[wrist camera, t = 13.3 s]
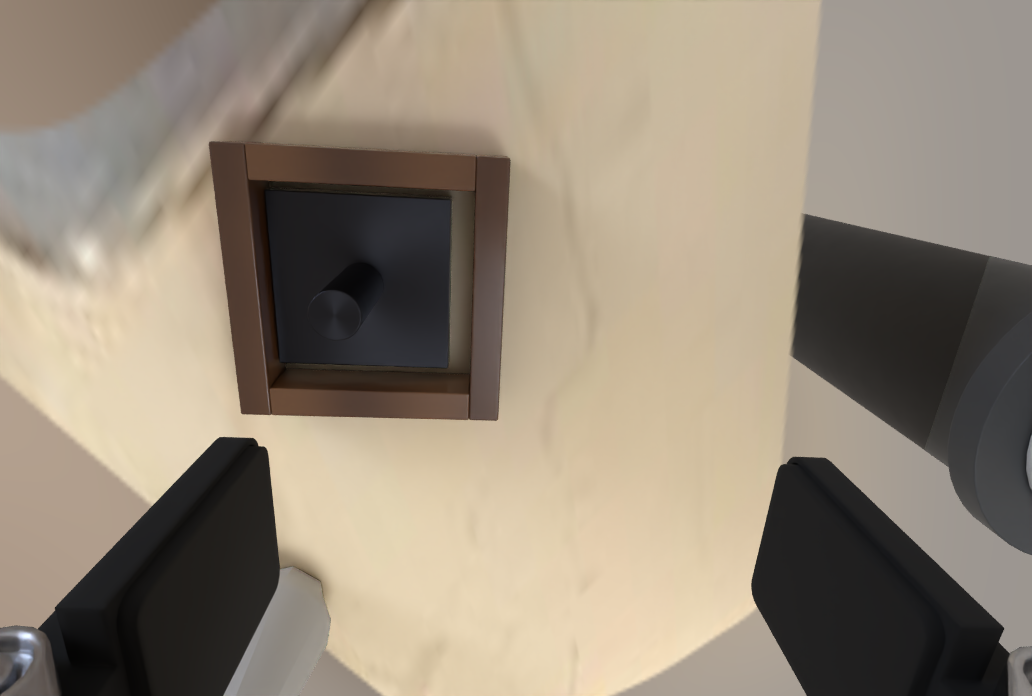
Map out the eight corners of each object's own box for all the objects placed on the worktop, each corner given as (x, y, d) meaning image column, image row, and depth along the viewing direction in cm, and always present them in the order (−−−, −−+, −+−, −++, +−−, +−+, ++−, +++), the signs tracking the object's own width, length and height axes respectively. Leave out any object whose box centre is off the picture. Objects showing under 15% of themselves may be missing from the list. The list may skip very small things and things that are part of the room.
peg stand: (452, 196, 26) (443, 212, 20) (449, 359, 29) (440, 414, 23) (273, 187, 26) (211, 200, 20) (287, 354, 28) (236, 409, 23)
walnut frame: (508, 156, 26) (510, 158, 23) (497, 399, 30) (498, 421, 27) (233, 141, 25) (207, 141, 23) (260, 392, 29) (240, 415, 27)
